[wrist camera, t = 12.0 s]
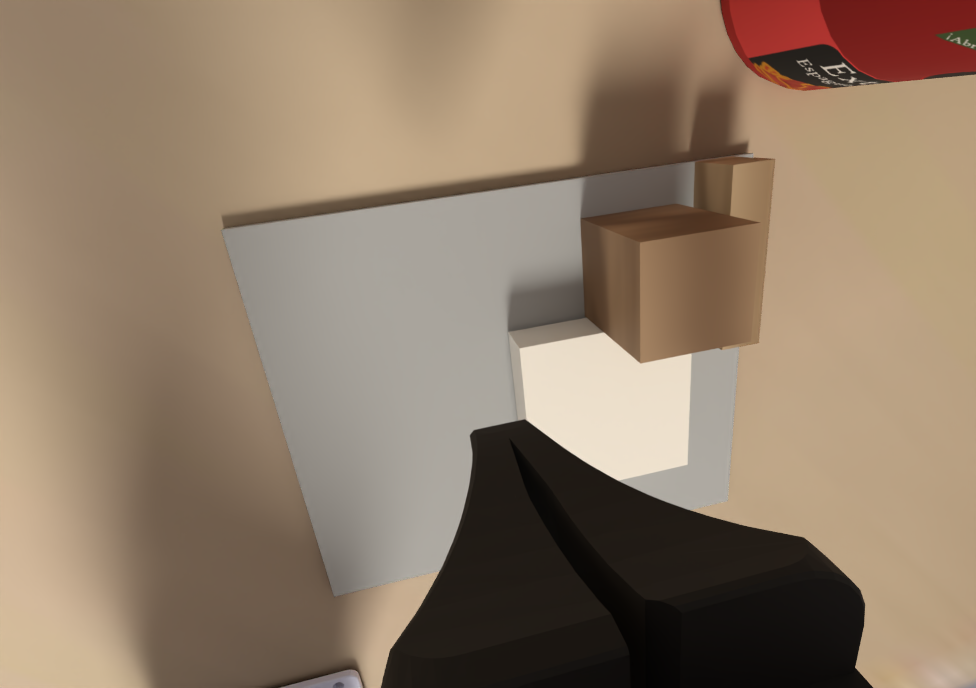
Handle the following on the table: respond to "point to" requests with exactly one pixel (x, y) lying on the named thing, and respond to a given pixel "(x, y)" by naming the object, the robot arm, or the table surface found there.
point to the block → (670, 279)
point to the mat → (436, 354)
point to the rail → (739, 206)
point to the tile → (602, 398)
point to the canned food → (852, 40)
